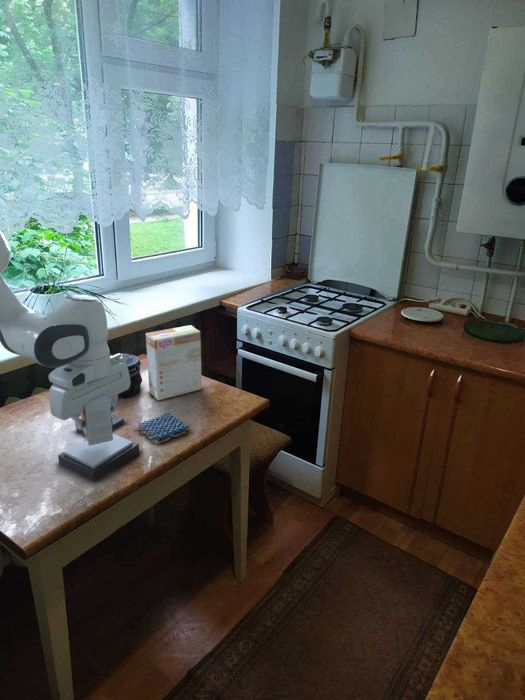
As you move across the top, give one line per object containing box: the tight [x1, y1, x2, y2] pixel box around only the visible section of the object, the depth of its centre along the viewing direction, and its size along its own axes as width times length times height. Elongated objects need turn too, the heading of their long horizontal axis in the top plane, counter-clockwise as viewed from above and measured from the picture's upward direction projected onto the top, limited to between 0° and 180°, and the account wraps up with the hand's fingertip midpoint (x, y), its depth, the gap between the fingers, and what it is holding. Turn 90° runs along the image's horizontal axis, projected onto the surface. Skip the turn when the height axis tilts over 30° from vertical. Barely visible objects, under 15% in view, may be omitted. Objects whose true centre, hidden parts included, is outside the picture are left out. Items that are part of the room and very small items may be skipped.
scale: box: [57, 433, 140, 483], centre depth 118 cm, size 14×12×3 cm
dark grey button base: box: [75, 413, 125, 436], centre depth 132 cm, size 10×7×3 cm
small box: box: [80, 395, 114, 446], centre depth 115 cm, size 8×6×10 cm
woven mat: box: [136, 412, 190, 444], centre depth 131 cm, size 10×11×2 cm
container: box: [110, 353, 143, 399], centre depth 151 cm, size 13×13×10 cm
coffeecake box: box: [145, 324, 203, 401], centre depth 150 cm, size 15×7×20 cm, turn 124°
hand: (96, 419), depth 115 cm, fingers closed on small box, 7 cm apart
